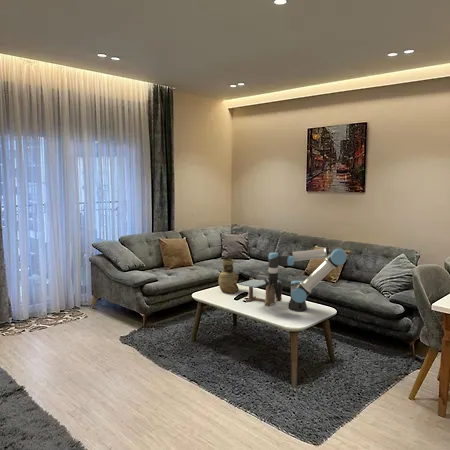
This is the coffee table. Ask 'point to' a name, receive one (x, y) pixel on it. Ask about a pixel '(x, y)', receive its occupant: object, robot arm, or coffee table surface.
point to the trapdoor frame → (253, 296)
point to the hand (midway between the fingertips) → (272, 301)
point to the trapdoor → (255, 282)
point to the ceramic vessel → (228, 277)
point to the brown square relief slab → (272, 295)
